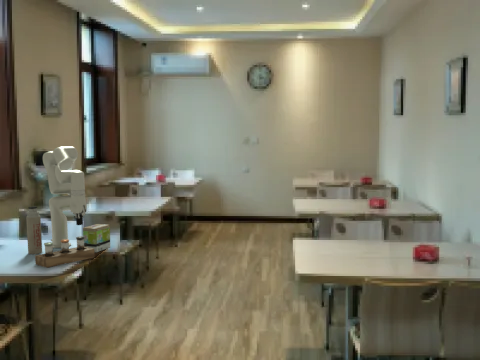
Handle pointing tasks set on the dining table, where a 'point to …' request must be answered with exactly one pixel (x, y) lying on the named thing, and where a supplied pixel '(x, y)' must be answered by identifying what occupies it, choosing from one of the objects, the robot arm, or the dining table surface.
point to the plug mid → (65, 245)
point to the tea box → (97, 237)
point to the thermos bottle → (34, 231)
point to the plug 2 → (80, 243)
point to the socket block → (64, 257)
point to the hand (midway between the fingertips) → (79, 224)
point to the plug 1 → (48, 249)
